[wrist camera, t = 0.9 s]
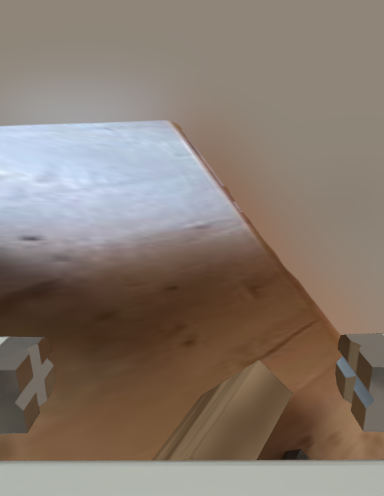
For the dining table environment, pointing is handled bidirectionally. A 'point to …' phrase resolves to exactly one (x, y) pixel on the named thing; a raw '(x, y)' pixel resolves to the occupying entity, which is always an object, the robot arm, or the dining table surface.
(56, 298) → the dining table surface
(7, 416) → the robot arm
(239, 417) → the walnut plank
